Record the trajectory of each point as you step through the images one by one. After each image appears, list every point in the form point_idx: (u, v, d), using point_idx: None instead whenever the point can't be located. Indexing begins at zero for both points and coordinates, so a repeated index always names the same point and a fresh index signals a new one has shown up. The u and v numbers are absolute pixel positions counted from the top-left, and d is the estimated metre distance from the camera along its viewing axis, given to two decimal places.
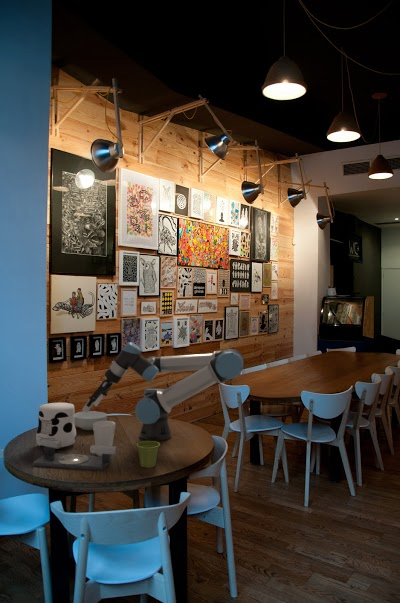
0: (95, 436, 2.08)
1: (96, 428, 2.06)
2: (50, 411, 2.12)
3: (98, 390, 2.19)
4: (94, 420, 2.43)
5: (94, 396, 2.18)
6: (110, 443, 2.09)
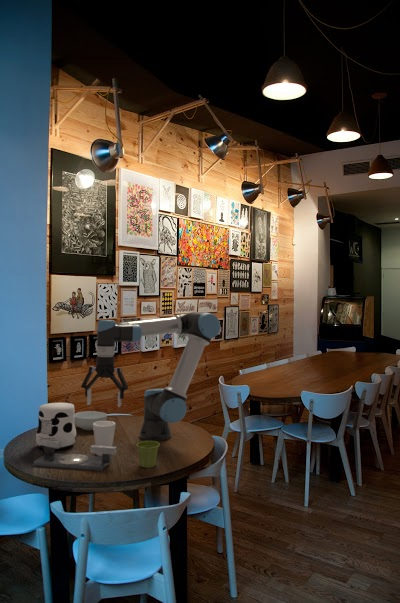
0: (95, 436, 2.08)
1: (96, 428, 2.06)
2: (50, 411, 2.12)
3: (122, 378, 2.09)
4: (94, 420, 2.43)
5: (126, 384, 2.09)
6: (110, 443, 2.09)
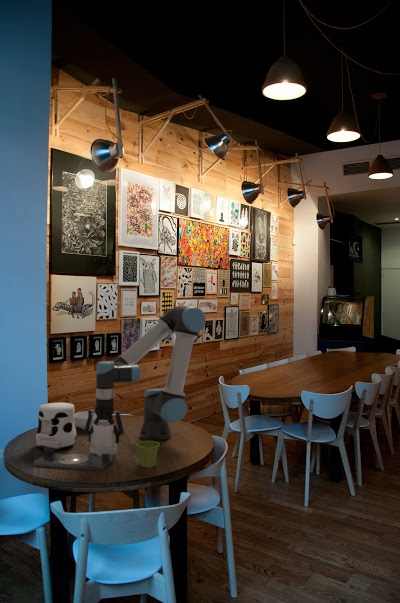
0: (95, 436, 2.08)
1: (96, 428, 2.06)
2: (50, 411, 2.12)
3: (120, 422, 2.09)
4: (94, 420, 2.43)
5: (122, 429, 2.09)
6: (110, 443, 2.09)
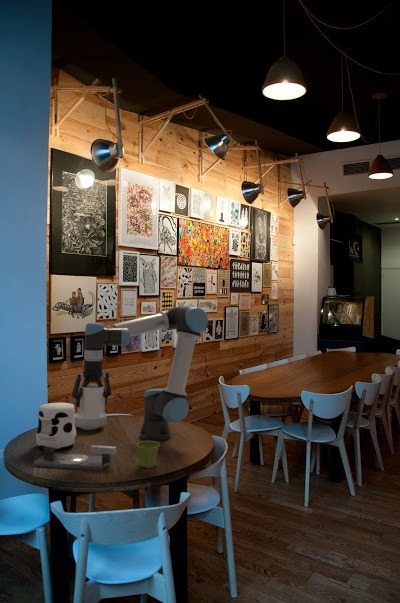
0: (88, 399, 2.01)
1: (91, 391, 2.00)
2: (50, 411, 2.12)
3: None
4: (94, 420, 2.43)
5: None
6: (100, 405, 2.06)
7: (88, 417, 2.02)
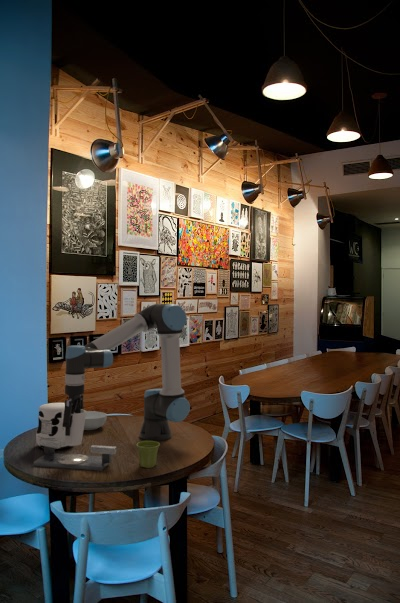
0: (78, 425, 1.94)
1: (82, 415, 1.95)
2: (50, 411, 2.12)
3: None
4: (94, 420, 2.43)
5: None
6: None
7: (76, 443, 1.95)
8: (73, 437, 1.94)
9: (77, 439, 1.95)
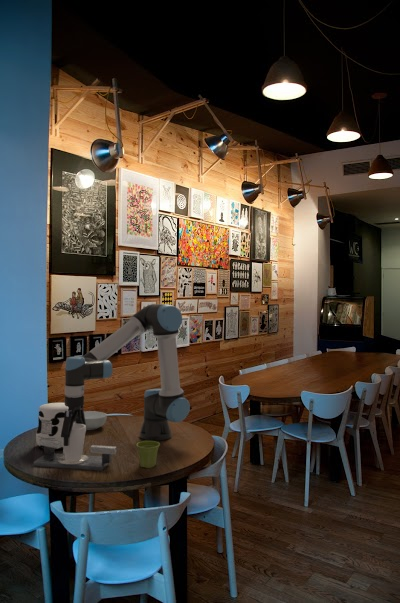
0: (78, 441, 1.95)
1: (82, 431, 1.95)
2: (50, 411, 2.12)
3: None
4: (94, 420, 2.43)
5: None
6: None
7: (77, 459, 1.95)
8: (73, 452, 1.94)
9: (77, 454, 1.95)
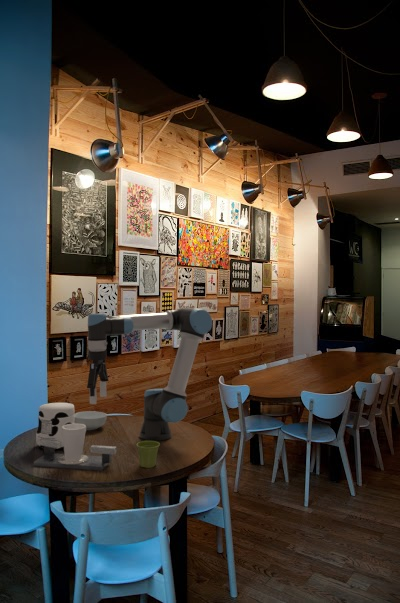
0: (78, 441, 1.95)
1: (82, 431, 1.95)
2: (50, 411, 2.12)
3: None
4: (94, 420, 2.43)
5: None
6: None
7: (77, 459, 1.95)
8: (73, 452, 1.94)
9: (77, 454, 1.95)
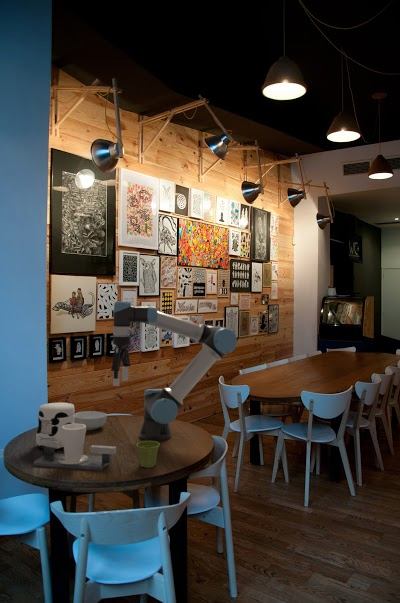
0: (78, 441, 1.95)
1: (82, 431, 1.95)
2: (50, 411, 2.12)
3: None
4: (94, 420, 2.43)
5: None
6: None
7: (77, 459, 1.95)
8: (73, 452, 1.94)
9: (77, 454, 1.95)
